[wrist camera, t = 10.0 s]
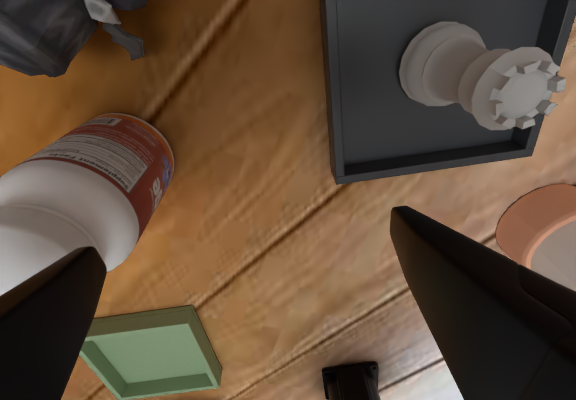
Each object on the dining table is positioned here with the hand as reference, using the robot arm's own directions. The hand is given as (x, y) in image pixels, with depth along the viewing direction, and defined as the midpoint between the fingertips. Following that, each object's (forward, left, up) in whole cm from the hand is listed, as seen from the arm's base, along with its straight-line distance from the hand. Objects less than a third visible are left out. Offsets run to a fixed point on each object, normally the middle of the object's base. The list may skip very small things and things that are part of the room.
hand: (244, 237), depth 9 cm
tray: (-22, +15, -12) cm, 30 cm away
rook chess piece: (+1, -11, -12) cm, 16 cm away
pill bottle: (-1, +9, -13) cm, 16 cm away
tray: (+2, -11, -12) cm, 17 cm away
